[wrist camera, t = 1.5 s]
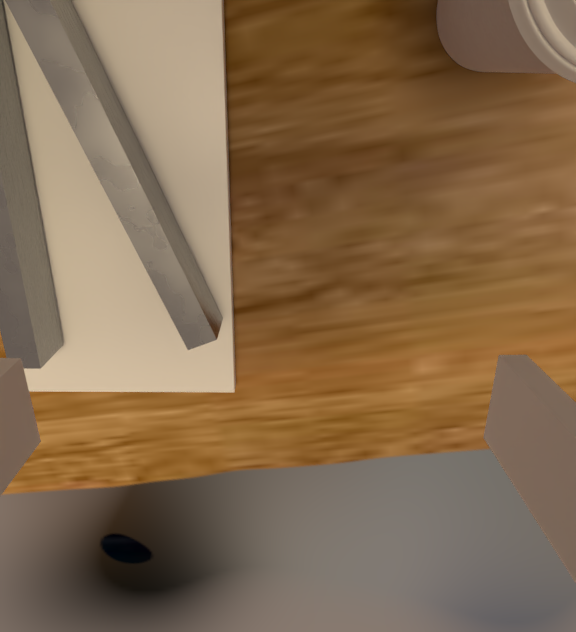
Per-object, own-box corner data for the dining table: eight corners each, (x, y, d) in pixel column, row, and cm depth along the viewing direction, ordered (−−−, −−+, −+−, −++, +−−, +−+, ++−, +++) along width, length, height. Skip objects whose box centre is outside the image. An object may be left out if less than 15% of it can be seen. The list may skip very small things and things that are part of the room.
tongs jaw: (-2, -65, 25) (-43, -92, 22) (32, -82, 25) (-6, -112, 22) (196, 328, 34) (187, 350, 31) (223, 318, 34) (216, 339, 30)
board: (-106, -214, 24) (-124, -230, 23) (217, -205, 24) (214, -221, 23) (26, 382, 37) (18, 391, 36) (235, 384, 37) (234, 392, 36)
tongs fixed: (-72, -177, 23) (-129, -223, 20) (19, -175, 24) (-23, -221, 20) (34, 344, 34) (9, 368, 31) (97, 345, 34) (78, 368, 31)
